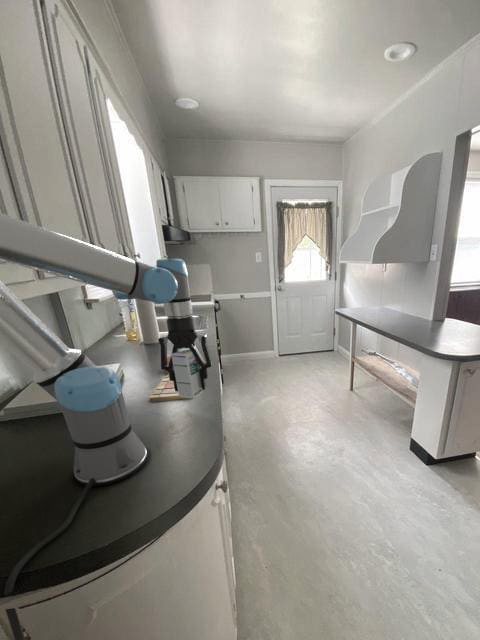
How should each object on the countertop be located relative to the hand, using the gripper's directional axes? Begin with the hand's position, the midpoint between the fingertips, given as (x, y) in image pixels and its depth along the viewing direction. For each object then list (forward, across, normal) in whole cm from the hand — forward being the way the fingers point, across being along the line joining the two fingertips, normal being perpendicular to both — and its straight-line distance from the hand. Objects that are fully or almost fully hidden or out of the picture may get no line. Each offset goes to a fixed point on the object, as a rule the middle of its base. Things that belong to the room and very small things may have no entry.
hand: (190, 388), depth 96 cm
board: (+7, +10, -20) cm, 24 cm away
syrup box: (+2, 0, 0) cm, 2 cm away
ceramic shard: (+7, +16, -45) cm, 48 cm away
